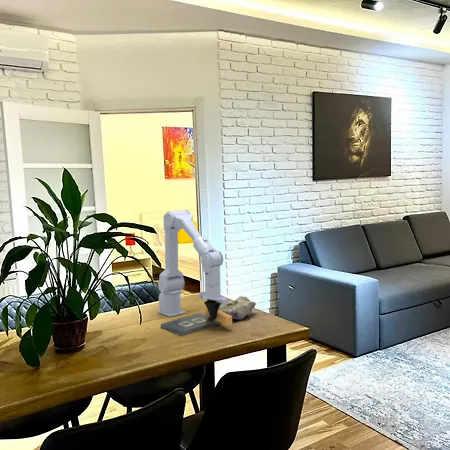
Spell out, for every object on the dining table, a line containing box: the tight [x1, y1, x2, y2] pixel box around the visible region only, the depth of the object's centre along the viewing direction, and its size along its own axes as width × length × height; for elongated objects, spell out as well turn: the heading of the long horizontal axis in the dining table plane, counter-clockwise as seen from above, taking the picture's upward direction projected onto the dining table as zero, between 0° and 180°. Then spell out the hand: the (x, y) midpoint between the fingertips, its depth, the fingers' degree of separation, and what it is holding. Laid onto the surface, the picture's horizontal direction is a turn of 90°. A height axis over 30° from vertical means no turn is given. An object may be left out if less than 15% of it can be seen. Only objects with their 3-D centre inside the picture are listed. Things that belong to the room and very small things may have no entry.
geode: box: [218, 295, 257, 321], centre depth 185 cm, size 17×9×15 cm
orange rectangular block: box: [204, 305, 233, 326], centre depth 175 cm, size 16×4×4 cm, turn 31°
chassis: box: [160, 312, 222, 337], centre depth 176 cm, size 13×19×2 cm
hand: (213, 319), depth 172 cm, fingers closed, pressing on orange rectangular block
